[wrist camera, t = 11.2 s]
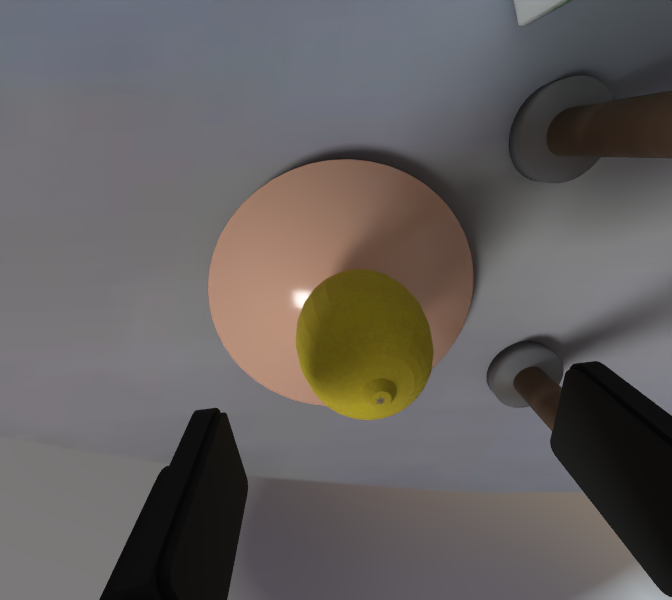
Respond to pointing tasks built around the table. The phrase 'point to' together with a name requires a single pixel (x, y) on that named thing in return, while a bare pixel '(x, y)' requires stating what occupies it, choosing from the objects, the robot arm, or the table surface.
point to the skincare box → (535, 9)
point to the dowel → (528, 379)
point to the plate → (332, 260)
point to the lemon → (364, 344)
